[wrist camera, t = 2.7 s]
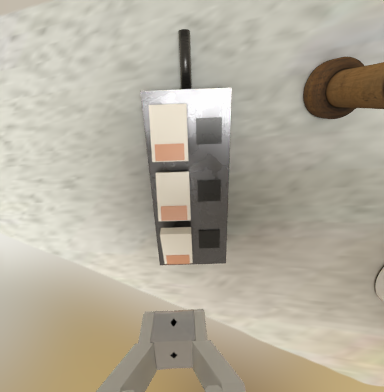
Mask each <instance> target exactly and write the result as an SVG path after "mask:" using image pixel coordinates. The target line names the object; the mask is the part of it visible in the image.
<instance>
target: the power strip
mask: <svg viewBox="0 0 384 392" xmlns="http://www.w3.org/2000/svg"><path fill="white" fill-rule="evenodd" d="M179 46H180V67H181V90H153V91H141V100H142V109H143V118H144V127H145V136H146V145H147V154H148V163H149V172H150V180H151V189H152V198H153V207H154V216H155V225H156V234H157V243H158V252H159V261H160V265H183V264H165V263H164V257H163V251H162V245H161V239H160V230H161V228H176V227H191V235H192V259H193V263H190V264H217V263H226V240H227V210H228V181H229V151H230V122H231V92H232V88H209V89H191V61H190V31H189V30H187V29H183V30H179ZM163 104H186V105H187V132H188V160H189V161H173V162H152V151H151V135H150V119H149V105H163ZM179 171H189V182H190V210H191V220H188V221H158V206H157V190H156V172H179Z"/></svg>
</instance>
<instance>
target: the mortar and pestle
mask: <svg viewBox="0 0 384 392" xmlns="http://www.w3.org/2000/svg"><path fill="white" fill-rule="evenodd" d="M304 103H305V106H306V108H307V110H308V111H309V112H310V113H311V114H312V115H314V116H316V117H319V118H327V119H337V118H341V117H343V116H346V115H348V114H349V113H351V112H352V111H353V110H354V109H356V108H374V109H384V62H383V63H378V64H373V65H368V66H364V65H363V64H362V63H361V62H360V61H359V60H357V59H355V58H352V57H341V58H337V59H333V60H329V61H327V62H325V63H323V64H321V65H320V66H318V67H317V68H316V69H315V70H314V71H313V72H312V73H311V75H310V76H309V78H308V80H307V82H306V85H305V88H304Z"/></svg>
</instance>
